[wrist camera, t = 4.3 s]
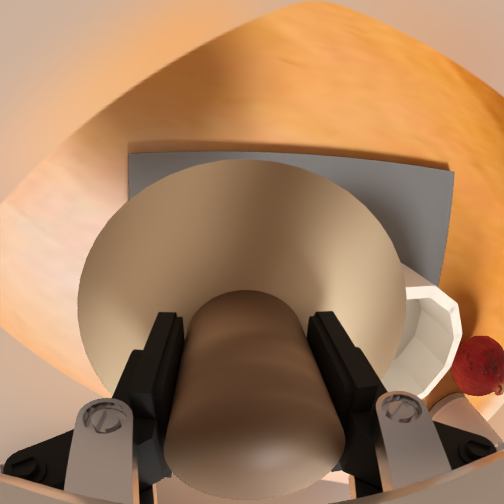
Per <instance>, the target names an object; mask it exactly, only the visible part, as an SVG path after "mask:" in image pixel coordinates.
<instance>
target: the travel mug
mask: <svg viewBox="0 0 504 504" xmlns="http://www.w3.org/2000/svg"><path fill="white" fill-rule="evenodd" d="M429 413H430V416H431V418H432V420H434V421H437V422H440V423H443V424H446V425H449V426H452V427H455V428H458V429H462V430H465V431H468V432H471V433H475V434H478V435H481V436H483V437H486V438H487V439H489V440H490V441H491V442H492V443H493V444H494V446H496V444H497V443H503V444H504V442H503V441H502V440H501V439H500V437H499V436H498V435H497V434H496V432H495V431H494V430H493V429H492V428H491V426H490V425H489V424H488V423H487V422H486V420H485V419H484V418H483V417H482V416H481V415H480V413H479V412H478V411H477V410H476V409H475V408H474V406H473V405H472V404H471V403H470V402H469V401H468V399H467V398H466V397H465V396H464V395H463V394H462V393H453V394H450V395H448V396H446V397H444V398H443V399H441V400H440V401H439V402H438V403H436V404H435V405H434V406H433V407H432V408H431V410H430V411H429Z"/></svg>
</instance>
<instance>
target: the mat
mask: <svg viewBox="0 0 504 504" xmlns="http://www.w3.org/2000/svg"><path fill="white" fill-rule="evenodd" d="M236 159H253V160H264V161H273V162H279V163H283V164H287V165H291V166H295V167H299V168H303V169H305V170H308V171H310V172H313V173H315V174H317V175H320V176H322V177H325V178H327V179H328V180H330V181H332V182H333V183H335V184H337V185H338V186H340V187H342V188H343V189H345V190H347V191H348V192H349V193H350V194H352V195H353V196H354V197H355V198H356V199H358V200H359V201H360V202H361V203H362V204H364V205H365V206H366V207H367V208H368V210H369V211H370V212H371V213H372V214H373V215H374V216H375V218H376V219H377V220H378V221H379V222H380V224H381V225H382V227H383V228H384V230H385V231H386V233H387V235H388V236H389V238H390V239H391V241H392V243H393V245H394V248H395V250H396V252H397V255H398V257H399V259H400V262H401V263H403V264H404V265H406V266H407V267H409V268H410V269H412V270H413V271H415V272H416V273H418V274H419V275H421V276H422V277H423V278H425V279H426V280H428V281H429V282H431V283H432V284H434V285H435V286H436V287H438V284H439V279H440V275H441V270H442V264H443V259H444V253H445V248H446V242H447V235H448V228H449V221H450V213H451V205H452V196H453V185H454V172H452V171H447V170H441V169H435V168H428V167H422V166H415V165H408V164H401V163H393V162H385V161H376V160H367V159H358V158H348V157H336V156H324V155H310V154H294V153H273V152H238V151H189V152H155V153H134V154H129V200H130V199H131V198H133V197H134V196H135V195H137V194H138V193H139V192H141V191H142V190H143V189H145V188H146V187H148V186H150V185H151V184H153V183H155V182H157V181H159V180H161V179H163V178H165V177H166V176H168V175H171V174H173V173H176V172H179V171H182V170H184V169H187V168H190V167H193V166H196V165H201V164H206V163H211V162H216V161H221V160H236Z"/></svg>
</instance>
